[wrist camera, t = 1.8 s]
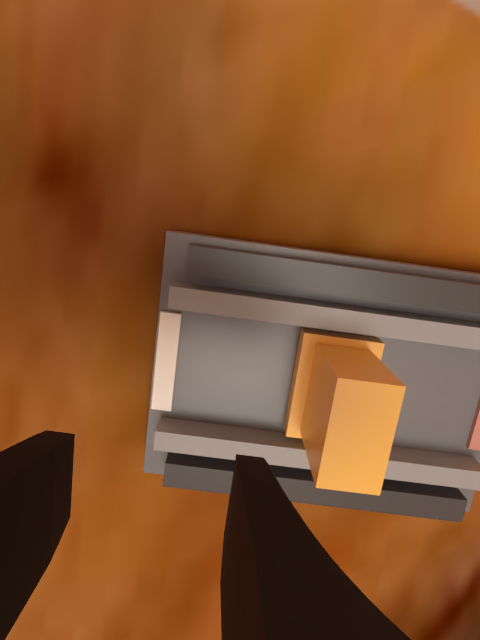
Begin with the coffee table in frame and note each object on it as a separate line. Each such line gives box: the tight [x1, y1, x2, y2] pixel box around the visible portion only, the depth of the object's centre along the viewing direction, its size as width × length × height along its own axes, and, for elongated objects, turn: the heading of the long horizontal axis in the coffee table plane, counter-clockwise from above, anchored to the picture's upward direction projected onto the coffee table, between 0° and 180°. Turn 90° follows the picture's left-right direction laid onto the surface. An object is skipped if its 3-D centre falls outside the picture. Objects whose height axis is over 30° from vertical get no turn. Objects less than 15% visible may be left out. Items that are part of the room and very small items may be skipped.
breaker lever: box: [284, 328, 406, 496], centre depth 15 cm, size 3×4×4 cm
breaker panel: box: [143, 230, 480, 522], centre depth 17 cm, size 14×10×3 cm
